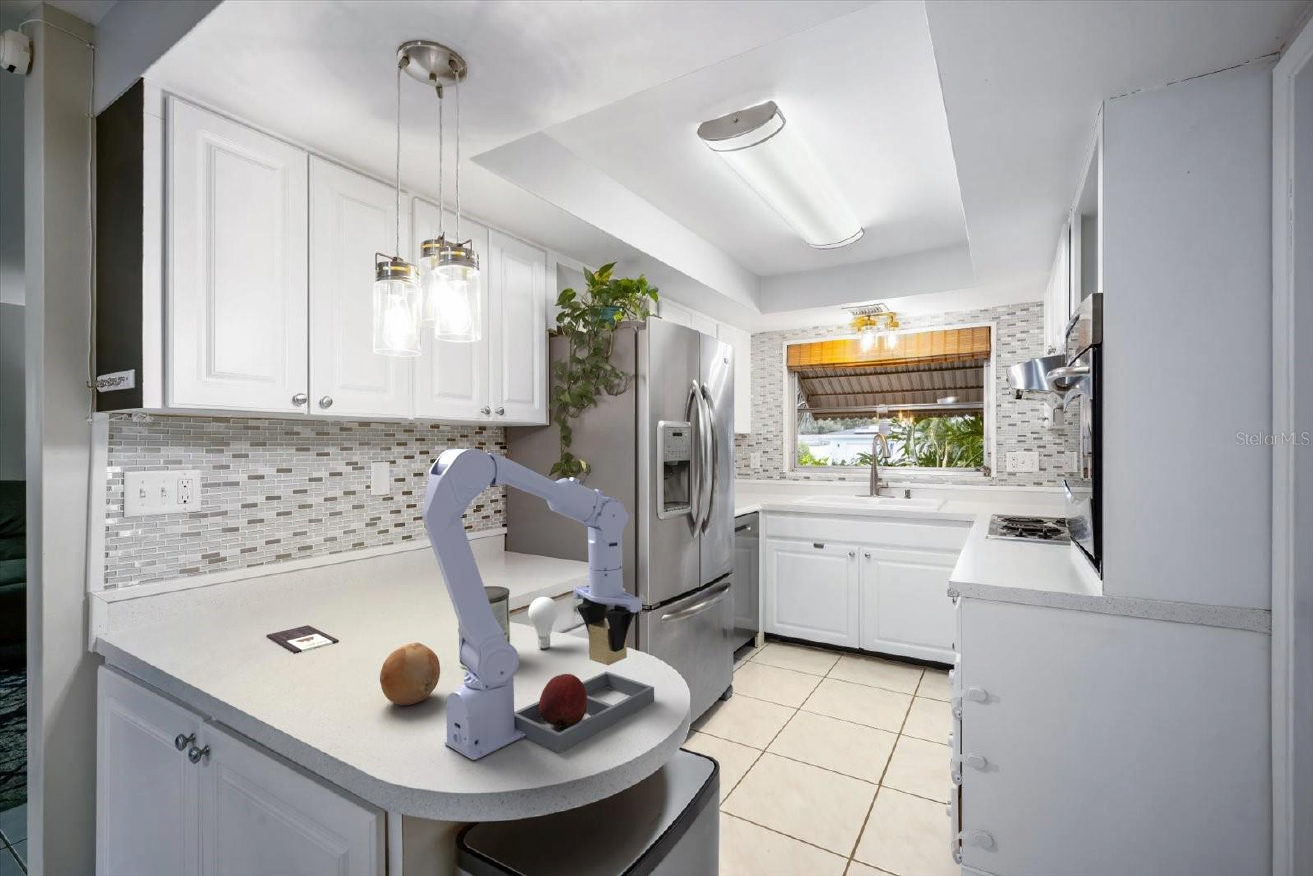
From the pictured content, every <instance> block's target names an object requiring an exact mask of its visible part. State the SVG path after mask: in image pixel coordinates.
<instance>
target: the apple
mask: <svg viewBox="0 0 1313 876" xmlns="http://www.w3.org/2000/svg"><path fill="white" fill-rule="evenodd" d="M582 682H583V681H582V680H580V678H579V677H577V676H576V675H574V674H571V673H563V674H558V675H555V676H554V677H552V678H551V679H550V680H549V681H548V682H547V683H546V685H545V686H544V688H543V689H542V691H541V695H540V698H539V712H540V715H541V718H540V719H542V720H543V722H545V723H546V724H549V725H552V726H554V730H558V729H560V728H570V727H571V726H573V725H575V724H577V723H579V722H581V721H583V720H584V719H583V718H584V717H585V714H587V713H586V709H587V693H586V689H585V686H584V684H583V683H582Z"/></svg>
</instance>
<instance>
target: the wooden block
mask: <svg viewBox="0 0 1313 876" xmlns="http://www.w3.org/2000/svg"><path fill="white" fill-rule="evenodd" d="M588 646H589V647H588V652H589V653H588V654H589V657H588V659H589V660H590V661H592V662H596V663H599V664H602V665H604V666H610V665H613V664H615V663H617V662H620V661H622V660H624V659H627V657H628V655H627V653H628V651H627V650H628V649H627V648H628V647H627V639H626V640H625V644H624V649H622V650H620V651H617V652H614V651H613V650H612V645H611V633H610V627H609V623H608V620H607V617H606V618H605V617H604V619H602V620H600V621H597V622H594V623H591V624H589V634H588Z"/></svg>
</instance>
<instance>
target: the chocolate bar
mask: <svg viewBox="0 0 1313 876" xmlns="http://www.w3.org/2000/svg"><path fill="white" fill-rule="evenodd" d="M265 636H266V638H267V639H269V640H270V641H272V642H274V643H276V644H277V645H279V646H280V647H282V646H283V647H282V648H284V649H285V650H288V651H289V650H290V651H289V652H291V653H292V652H293V654H294V655H296V653H297V654H300V653H303V652H302V651H304V652H307V650H308V651H312V650H315V649H319V648H322V647H327V646H331V645H335V644H338V643H339V642H340V640H339V639H337V638H336V637H333V636H331V635H330V634H327V633H325V632H323V631H322V630H319V629H317V628H315V627H313V626H311V625H309V624H308V625H303V626H299V627H295V628H290V629H286V630H282V631H278V632H273V633H269V634H266V635H265ZM299 652H300V653H299Z"/></svg>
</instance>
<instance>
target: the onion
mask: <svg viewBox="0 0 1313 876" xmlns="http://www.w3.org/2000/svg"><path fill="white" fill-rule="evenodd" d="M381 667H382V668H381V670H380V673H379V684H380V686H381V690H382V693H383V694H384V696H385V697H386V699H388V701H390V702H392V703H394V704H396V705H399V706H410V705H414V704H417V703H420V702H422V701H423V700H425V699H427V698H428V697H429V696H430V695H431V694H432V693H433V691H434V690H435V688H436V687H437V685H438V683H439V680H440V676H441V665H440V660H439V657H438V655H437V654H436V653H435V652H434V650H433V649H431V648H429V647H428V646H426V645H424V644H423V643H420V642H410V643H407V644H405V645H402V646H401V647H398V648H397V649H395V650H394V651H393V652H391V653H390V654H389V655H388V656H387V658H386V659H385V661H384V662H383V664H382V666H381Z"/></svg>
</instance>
